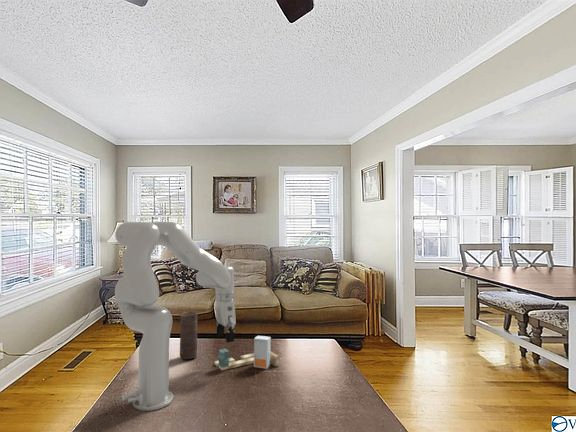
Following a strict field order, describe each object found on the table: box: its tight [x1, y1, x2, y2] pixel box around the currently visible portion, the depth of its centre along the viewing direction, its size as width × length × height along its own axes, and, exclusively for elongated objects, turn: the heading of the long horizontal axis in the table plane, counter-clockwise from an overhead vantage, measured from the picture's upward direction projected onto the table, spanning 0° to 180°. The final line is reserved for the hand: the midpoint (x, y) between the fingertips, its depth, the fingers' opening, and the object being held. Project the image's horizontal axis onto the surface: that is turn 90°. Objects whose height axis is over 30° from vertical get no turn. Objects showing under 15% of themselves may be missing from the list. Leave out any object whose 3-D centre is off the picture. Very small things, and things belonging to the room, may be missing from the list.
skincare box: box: [253, 335, 272, 370], centre depth 153 cm, size 6×4×12 cm
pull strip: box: [218, 348, 280, 371], centre depth 152 cm, size 22×11×7 cm, turn 123°
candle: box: [179, 310, 198, 360], centre depth 161 cm, size 8×7×20 cm
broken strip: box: [214, 352, 254, 368], centre depth 159 cm, size 22×3×1 cm, turn 123°
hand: (225, 338), depth 150 cm, fingers open, 9 cm apart
